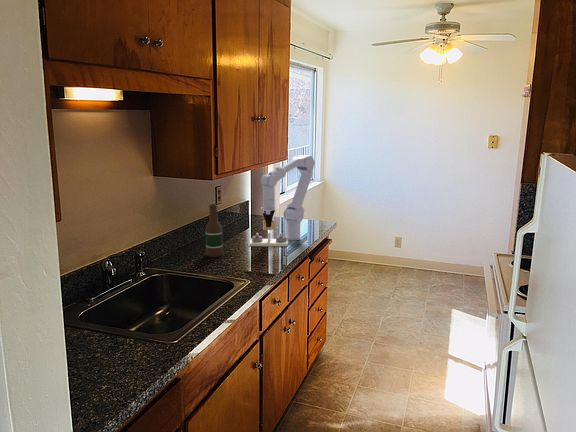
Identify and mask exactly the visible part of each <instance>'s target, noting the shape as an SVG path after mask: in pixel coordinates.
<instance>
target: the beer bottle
mask: <svg viewBox="0 0 576 432" xmlns="http://www.w3.org/2000/svg"><path fill="white" fill-rule="evenodd" d="M208 207H209V212H208V213H209V219H208V222H207V224H206V225H205V230H204V231H205V233H204V234H205V253H206V256H208V257H209V258H220V257H222V256H223V255H224V243H223V242H224V241H223V240H224V238H223V234H224V233H223V228H222V225H221V223H220V222H219V218H218V209H217V208H218V205H217V204H216V203H210V204H209V206H208Z"/></svg>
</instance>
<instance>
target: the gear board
mask: <svg viewBox="0 0 576 432" xmlns="http://www.w3.org/2000/svg"><path fill="white" fill-rule="evenodd" d="M288 246H289V240H288V239H286V235H283V233H282V232H279V235H277V236H276V237H275V238H271V232H268V233H267V238H263V236H262V235H259V233H258V232H256V233H255V235H253V236H252V237H251V238H250V241H249V247H288Z"/></svg>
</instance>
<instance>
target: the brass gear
mask: <svg viewBox="0 0 576 432" xmlns="http://www.w3.org/2000/svg"><path fill="white" fill-rule="evenodd" d="M275 221H276V220H274V219H272V224H271V227H266V222H265V219H264V220H263V221H262V223H263V225H262V227H263V230H265V231H273V230H275V225H276V224H275Z"/></svg>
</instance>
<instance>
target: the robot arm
mask: <svg viewBox="0 0 576 432" xmlns="http://www.w3.org/2000/svg"><path fill="white" fill-rule="evenodd" d="M315 161H316V160H314V156H312V155H304V154H296V155H295V156H292V159H291V160H290V161H288V162H287V163H286V164H284V165H283V166H276V167H275V169H274V170H271V171H269V172H268V173H266V174H263V175H262V176H261V178H260V182H259V183H260V185H261V188H262V207H260V210H263V212H262V215H263V218H264V220H265V222H266V227H271V224H272V220H274V219H273V217H274V215H275V212H276V205H275V202H276V201H275V200H276V199H275V190H276V189H275V187H276V186H277V184H278V182H279V181H281V180H282V179H283V178H285V177H286V175H287V173H288V172H290V171H292V170H294V169H295V168H296V169H297V170H298V171H299V172H300V177H299V180H298V183H297V186H296V189H295V191H294V194H293V198H292V201H291V202H290V203H289V204H287V206H286V209H284V210H283V218H284V219H285V222H286V235H285V237H286V239H288V241H298V240H299V241H301V240H302V234H301V223H302V221H303V219H304V215H305V214H304V212H305V209H304V207H303V203H304V201H305V197H306V194H307V191H308V189H309V185H310V182H311V179H312V176H313V173H314V172H313V170H314V167H315V165H316V162H315Z"/></svg>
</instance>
